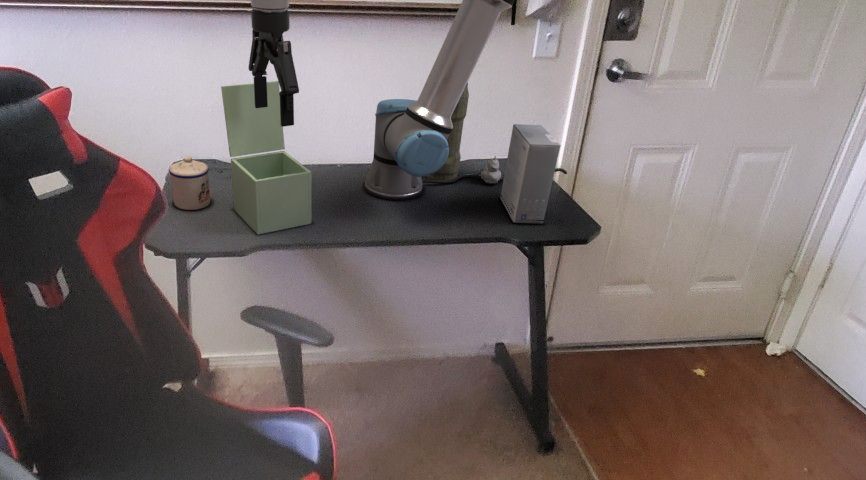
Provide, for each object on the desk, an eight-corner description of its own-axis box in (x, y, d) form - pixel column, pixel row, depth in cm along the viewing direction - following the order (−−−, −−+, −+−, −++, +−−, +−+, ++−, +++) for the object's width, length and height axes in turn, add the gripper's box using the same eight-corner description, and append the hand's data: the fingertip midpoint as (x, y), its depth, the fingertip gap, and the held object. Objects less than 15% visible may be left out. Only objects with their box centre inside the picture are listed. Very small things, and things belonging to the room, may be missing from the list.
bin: (311, 223, 156) (311, 172, 149) (257, 234, 150) (255, 181, 143) (285, 200, 167) (284, 150, 159) (233, 209, 160) (230, 158, 153)
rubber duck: (484, 187, 180) (489, 159, 176) (476, 178, 186) (480, 150, 181) (503, 186, 181) (508, 158, 177) (494, 177, 187) (498, 149, 182)
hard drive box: (543, 224, 163) (561, 145, 152) (513, 224, 162) (528, 144, 151) (527, 198, 176) (542, 123, 164) (498, 198, 175) (512, 122, 164)
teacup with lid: (207, 212, 159) (202, 165, 152) (168, 210, 158) (162, 163, 152) (217, 192, 168) (213, 147, 162) (181, 190, 168) (175, 145, 162)
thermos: (451, 168, 190) (468, 38, 171) (463, 184, 181) (482, 49, 161) (421, 169, 189) (434, 38, 169) (431, 185, 180) (447, 48, 160)
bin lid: (278, 81, 152) (277, 80, 153) (222, 86, 146) (220, 86, 147) (284, 149, 159) (283, 148, 159) (230, 157, 153) (229, 156, 153)
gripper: (229, -1, 138) (236, 102, 150) (279, 21, 121) (282, 136, 133) (262, -3, 141) (266, 98, 154) (315, 19, 124) (315, 131, 136)
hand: (274, 116), depth 143 cm, fingers open, 13 cm apart
